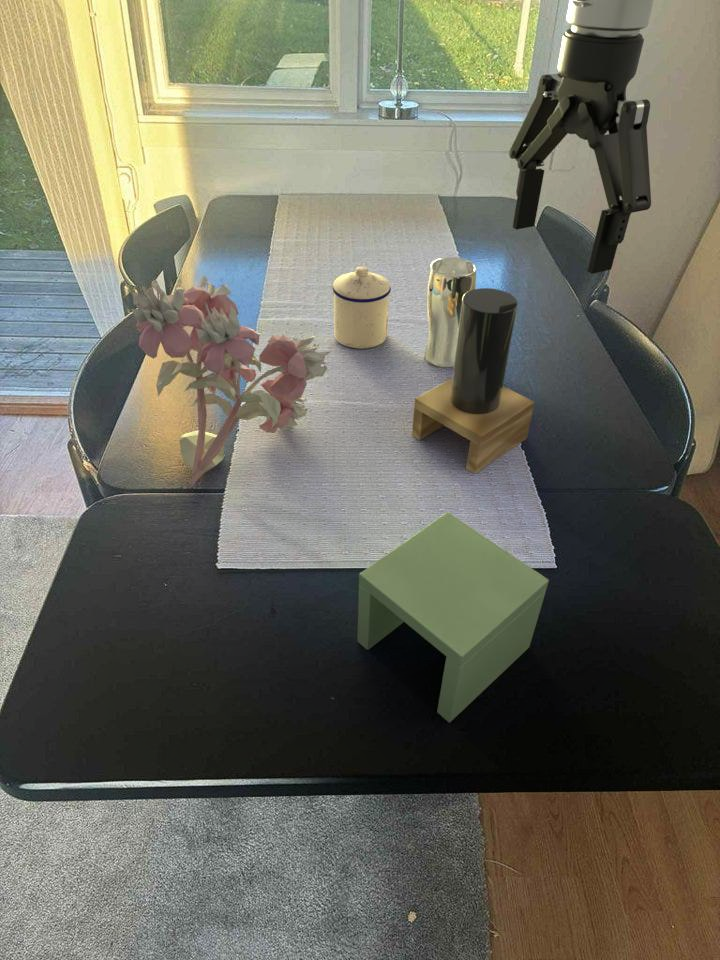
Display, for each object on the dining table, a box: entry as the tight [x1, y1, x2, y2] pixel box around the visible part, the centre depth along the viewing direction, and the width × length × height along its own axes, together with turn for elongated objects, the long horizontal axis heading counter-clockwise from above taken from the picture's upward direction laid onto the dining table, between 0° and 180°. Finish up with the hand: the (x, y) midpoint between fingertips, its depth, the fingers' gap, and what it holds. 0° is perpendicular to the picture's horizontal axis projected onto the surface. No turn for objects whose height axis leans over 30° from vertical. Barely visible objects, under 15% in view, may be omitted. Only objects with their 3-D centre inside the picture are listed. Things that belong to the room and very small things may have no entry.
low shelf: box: [411, 377, 535, 475], centre depth 92 cm, size 11×11×6 cm
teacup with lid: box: [332, 265, 392, 350], centre depth 112 cm, size 12×9×12 cm
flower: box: [131, 275, 331, 487], centre depth 86 cm, size 20×22×25 cm
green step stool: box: [357, 511, 550, 724], centre depth 66 cm, size 12×12×10 cm
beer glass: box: [424, 256, 478, 368], centre depth 105 cm, size 7×7×15 cm
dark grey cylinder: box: [450, 287, 519, 414], centre depth 86 cm, size 6×6×14 cm
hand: (559, 247), depth 80 cm, fingers open, 13 cm apart
